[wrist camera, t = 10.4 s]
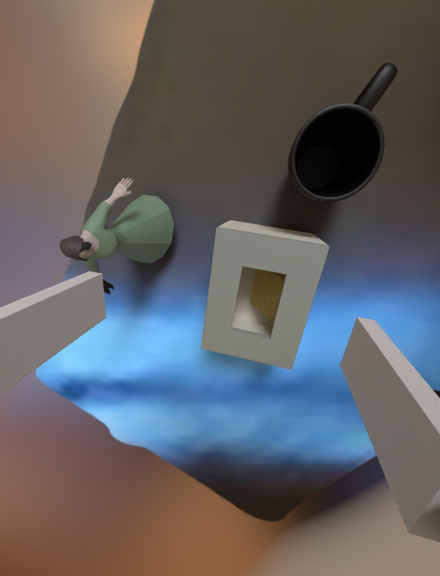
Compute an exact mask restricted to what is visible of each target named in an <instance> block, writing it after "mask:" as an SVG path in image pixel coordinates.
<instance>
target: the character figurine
mask: <svg viewBox="0 0 440 576" xmlns="http://www.w3.org/2000/svg"><path fill="white" fill-rule="evenodd" d="M124 180H125V178H123V179H122V180H121V181H120V183H119V184H118V185H117V186H116V187H115V189H114V191H113V194H112V196H111V197H110V198H108V199H107V200H105V201H103V202H102V203H101V204H100V205H99V206H98V207H97V209H96V211H95V212H94V213H93V214H92V216H91V217H90V218H89V219H88V221H87V222H86V223H85V225H84V227H83V229H82V230H83V232H82V235H81V236H80V237H79V236H72V237H69V238H66V239H63V240H62V241H61V242H60V248H61V250H62V252H63V254H64V255H66V256H67V257H70V258H73V259H75V260H78V259H79V260H83V261H85V264H86V266H87V268H88V269H89V271H91V272H96V273H100V270H99V264H98V263H97V259H99V258H103V259H105V258H109V257H111V256H113V255H114V253H119V254H121V255H124V256H126V257H128V258H130V259H133V260H135V261H137V262H143V263H150V264H151V263H153V262H155V261H156V260H158V259H160V258H162V257H163V256H164V254H165V253H166V251H167V250H168V248H169V246H170V245H171V243H172V237H173V229H174V223H173V219H172V216H171V212H170V209H169V207H168V206H167V205H166V204H165V203H164V202H163V201H162V200H161V199H160V198H158V197H157V196H148V195H142V196H141V197H139V198H137V199H136V200H134V201H133V202H131V203H130V204H129V205H128V206H127V207H126V209H125V210H124V211H123V212H122V214H121V215H120V216H119V217H118V218H117V220H116V221H115V222H114V223H113V224H112V226H111V227H106V226H105V223H106V219H107V216H108V215H109V213H110V212H111V210H112V207H113V205H114V203H115V201H116V200H117V199H118V198H122V197H124V196H127V195H129V194H131V191H129V192H127V189H128V188H129V186H130V185H131V184H132V183H133V181H131V180H132V179H129V180H128V178H127V179H126V180H125V181H124ZM123 181H124V182H123ZM130 181H131V182H130ZM129 182H130V183H129ZM82 258H83V259H82ZM103 288H104V292H106V293H107V294H108V293H109V294H110V293H111V292H110V291H109V289H108V288H112V289H114V288H113V285H112V284H110V283H107V282H106V281H104V280H103ZM110 295H111V294H110Z"/></svg>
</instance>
